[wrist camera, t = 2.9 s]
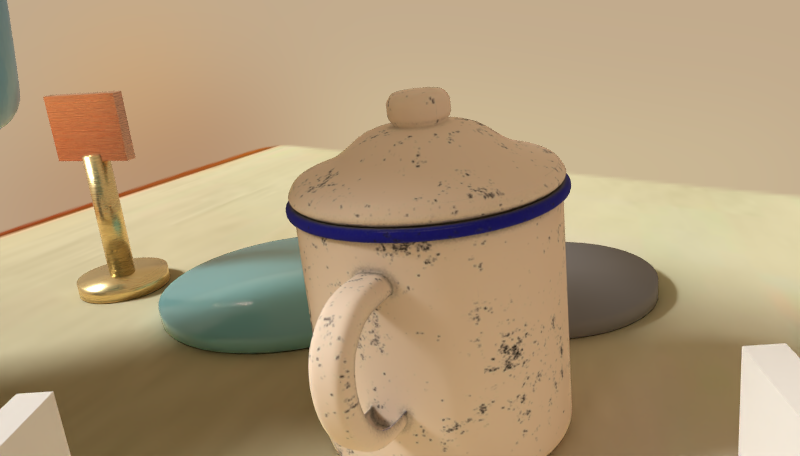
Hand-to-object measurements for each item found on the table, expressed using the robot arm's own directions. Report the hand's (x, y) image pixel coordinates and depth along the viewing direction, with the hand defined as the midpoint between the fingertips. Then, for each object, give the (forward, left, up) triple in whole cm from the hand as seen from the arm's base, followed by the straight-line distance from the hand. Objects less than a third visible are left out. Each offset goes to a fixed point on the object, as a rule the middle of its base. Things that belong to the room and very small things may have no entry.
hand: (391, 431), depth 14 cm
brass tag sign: (-26, +19, -7) cm, 33 cm away
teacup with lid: (-3, +9, -7) cm, 12 cm away
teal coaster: (-15, +20, -7) cm, 26 cm away
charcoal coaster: (-2, +22, -7) cm, 23 cm away
